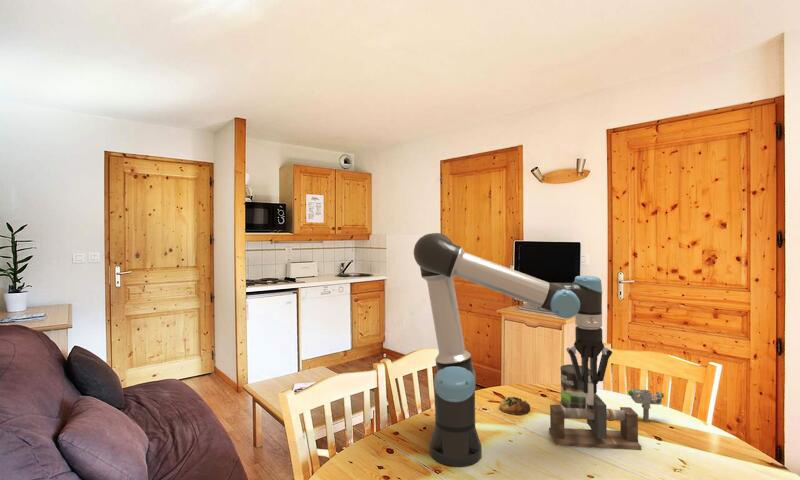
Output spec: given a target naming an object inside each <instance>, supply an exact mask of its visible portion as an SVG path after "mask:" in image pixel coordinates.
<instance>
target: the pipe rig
mask: <svg viewBox="0 0 800 480" xmlns="http://www.w3.org/2000/svg"><path fill="white" fill-rule="evenodd" d="M619 408H620V409H612V408H606V411H607V422H614V421H619V422H620V424H619V425H620V430H617V429H615V430H614V429H607V439H598V438H597V436H596V435H595V434H594V432H593V431H592V429H591V428H590V429H589V428H568V427H566V428H565V420H568V419H569V420H570V419H571V420H587V419H591V420H595V410H594V409H578V408H562V407H561V404H549V411H550V412H549V414H550V417H549V419H550V421H549V422H550V427H548V432H549V435H550V436H551V439H552V441H553V442H554V445H555V446H556V447H573V448H576V447H577V448H593V447H594V448H595V449H597V448H598V449H617V450H638V451H639V450H640V451H641V450H642V445H641V443H639V414H638V412H636V411H635V410H634V409H633V408H632V407H629V406H627V407H626V406H620V407H619Z"/></svg>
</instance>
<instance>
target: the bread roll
mask: <svg viewBox="0 0 800 480" xmlns="http://www.w3.org/2000/svg"><path fill="white" fill-rule="evenodd" d="M499 409H500V410H501V411H502V412H503V413H506V414H509V415H516V416H517V415H526V414H528V413H529V412H530V411H531V406H530V404H529V403H528V402H527V400H523V399H522V398H519V397H518V396H517V397H516V396H508V397H505V398H503V399H502V400H501V401H500V403H499Z"/></svg>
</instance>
